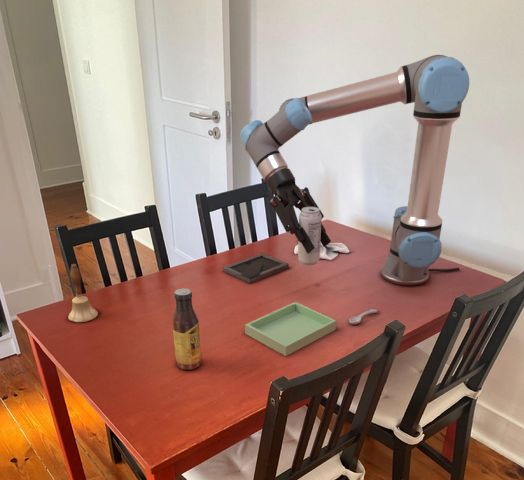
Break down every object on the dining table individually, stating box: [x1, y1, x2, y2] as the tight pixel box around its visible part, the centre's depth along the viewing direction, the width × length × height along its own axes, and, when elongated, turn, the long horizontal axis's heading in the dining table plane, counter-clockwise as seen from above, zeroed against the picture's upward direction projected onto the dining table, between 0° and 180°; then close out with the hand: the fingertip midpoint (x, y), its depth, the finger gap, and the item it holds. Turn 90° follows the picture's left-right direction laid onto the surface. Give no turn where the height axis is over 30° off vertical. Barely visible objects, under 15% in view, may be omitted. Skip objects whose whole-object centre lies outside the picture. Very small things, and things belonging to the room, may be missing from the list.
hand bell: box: [67, 263, 99, 323], centre depth 150 cm, size 8×8×16 cm
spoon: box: [348, 308, 378, 325], centre depth 151 cm, size 3×12×2 cm, turn 134°
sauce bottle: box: [172, 287, 202, 371], centre depth 127 cm, size 6×6×20 cm
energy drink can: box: [297, 207, 323, 267], centre depth 145 cm, size 6×6×15 cm
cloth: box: [293, 242, 351, 261], centre depth 195 cm, size 22×19×6 cm
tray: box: [244, 301, 337, 357], centre depth 145 cm, size 20×16×3 cm
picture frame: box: [222, 252, 289, 284], centre depth 181 cm, size 13×2×18 cm
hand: (319, 247), depth 144 cm, fingers closed on energy drink can, 6 cm apart
